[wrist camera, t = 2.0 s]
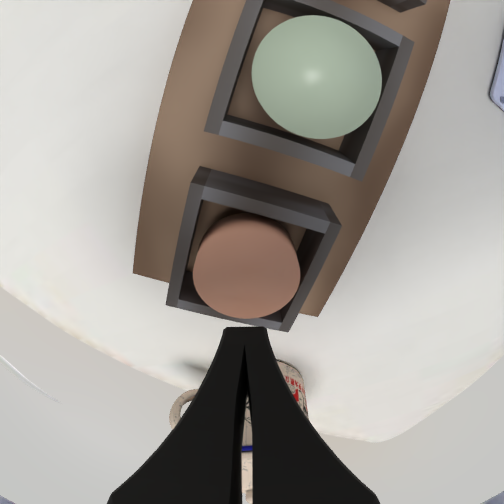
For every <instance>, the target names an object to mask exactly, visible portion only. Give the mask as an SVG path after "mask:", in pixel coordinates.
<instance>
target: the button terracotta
mask: <svg viewBox="0 0 504 504" xmlns="http://www.w3.org/2000/svg"><path fill="white" fill-rule="evenodd" d="M193 281H194V285H195V288H196V290H197V292H198V294H199V296H200V297H201V298H202V300H203V301H204V302H205V303H206V304H207V305H208V306H210V307H211V308H213V309H214V310H216V311H217V312H219V313H222V314H224V315H227V316H230V317H235V318H243V319H251V318H259V317H263V316H267V315H270V314H272V313H274V312H276V311H278V310H279V309H281V308H282V307H284V306H285V305H286V304H287V303H288V302H289V301H290V300H291V299H292V298H293V296H294V295H295V293H296V291H297V289H298V286H299V282H300V267H299V263H298V259H297V255H296V251H295V247H294V244H293V241H292V239H291V237H290V235H289V234H288V232H287V231H286V230H285V229H284V228H283V227H282V226H281V225H280V224H279V223H277V222H276V221H274V220H273V219H271V218H269V217H266V216H262V215H258V214H254V213H240V214H234V215H230V216H227V217H225V218H223V219H221V220H219V221H217V222H216V223H215V224H213V225H212V226H211V227H210V228H209V229H208V230H207V231H206V233H205V234H204V236H203V238H202V240H201V242H200V245H199V249H198V252H197V256H196V260H195V264H194V268H193Z"/></svg>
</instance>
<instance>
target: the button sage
mask: <svg viewBox="0 0 504 504" xmlns="http://www.w3.org/2000/svg"><path fill="white" fill-rule="evenodd" d="M251 74H252V85H253V89H254V92H255V95H256V97H257V99H258V101H259V102H260V104H261V106H262V107H263V109H264V110H265V111H266V113H267V114H268V115H269V116H270V117H271V118H272V119H273V120H274V121H275V122H276V123H277V124H279V125H280V126H282V127H283V128H285V129H286V130H288V131H290V132H292V133H295V134H297V135H300V136H303V137H307V138H314V139H329V138H335V137H340V136H342V135H345V134H348V133H350V132H352V131H354V130H355V129H357V128H358V127H359V126H361V125H362V124H363V123H364V122H365V121H366V120H367V119H368V118H369V117H370V115H371V114H372V113H373V111H374V109H375V108H376V105H377V103H378V101H379V97H380V94H381V88H382V75H381V69H380V65H379V62H378V59H377V56H376V54H375V52H374V51H373V49H372V47H371V46H370V44H369V43H368V42H367V40H366V39H365V38H364V37H363V36H362V35H361V34H360V33H359V32H357V31H356V30H355V29H353V28H352V27H350V26H349V25H347V24H345V23H343V22H341V21H339V20H336V19H333V18H330V17H325V16H317V15H308V16H300V17H296V18H292V19H289V20H287V21H285V22H283V23H281V24H279V25H278V26H276V27H275V28H273V29H272V30H271V31H270V32H269V33H268V34H267V35H266V36H265V37H264V39H263V40H262V41H261V43H260V45H259V46H258V48H257V51H256V53H255V56H254V60H253V64H252V72H251Z"/></svg>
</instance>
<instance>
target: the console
mask: <svg viewBox="0 0 504 504" xmlns="http://www.w3.org/2000/svg"><path fill="white" fill-rule="evenodd" d="M449 4H450V0H193V2H192V4H191V7H190V10H189V13H188V15H187V18H186V21H185V24H184V27H183V30H182V33H181V36H180V39H179V42H178V45H177V48H176V51H175V55H174V58H173V61H172V65H171V68H170V72H169V75H168V79H167V82H166V86H165V90H164V94H163V98H162V102H161V106H160V110H159V114H158V118H157V122H156V127H155V131H154V136H153V141H152V145H151V150H150V155H149V160H148V166H147V171H146V177H145V182H144V188H143V195H142V201H141V208H140V215H139V222H138V229H137V238H136V246H135V255H134V265H133V273H134V274H138V275H141V276H145V277H149V278H153V279H156V280H160V281H164V282H168V283H169V288H168V294H167V300H166V305H168V306H172V307H176V308H180V309H184V310H188V311H192V312H196V313H200V314H204V315H209V316H213V317H217V318H222V319H226V320H231V321H235V322H240V323H244V324H249V325H254V326H259V327H261V326H264V327H265V328H269V329H274V330H279V331H284V332H289V330H290V328H291V326H292V325H293V323H294V321H295V319H296V317H297V315H298V313H301V314H306V315H311V316H316V317H318V316H319V314H320V312H321V311H322V309H323V307H324V305H325V304H326V302H327V300H328V298H329V296H330V295H331V293H332V291H333V289H334V287H335V286H336V284H337V282H338V280H339V278H340V276H341V275H342V273H343V271H344V269H345V267H346V265H347V263H348V261H349V259H350V257H351V256H352V254H353V252H354V250H355V248H356V246H357V244H358V242H359V240H360V238H361V236H362V234H363V232H364V230H365V228H366V226H367V224H368V222H369V220H370V218H371V215H372V213H373V211H374V209H375V207H376V205H377V203H378V201H379V198H380V196H381V194H382V192H383V190H384V187H385V185H386V183H387V181H388V179H389V176H390V174H391V172H392V169H393V167H394V165H395V162H396V160H397V158H398V155H399V153H400V151H401V148H402V146H403V143H404V141H405V138H406V136H407V133H408V131H409V128H410V126H411V123H412V121H413V118H414V115H415V113H416V110H417V107H418V105H419V102H420V99H421V96H422V93H423V91H424V88H425V85H426V82H427V79H428V76H429V73H430V70H431V67H432V64H433V61H434V58H435V54H436V51H437V48H438V44H439V41H440V38H441V34H442V31H443V27H444V23H445V20H446V16H447V12H448V8H449ZM308 15H317V16H325V17H330V18H333V19H336V20H339V21H341V22H343V23H345V24H347V25H349V26H350V27H352V28H353V29H355V30H356V31H357V32H359V33H360V34H361V35H362V36H363V37H364V38H365V39H366V40H367V42H368V43H369V44H370V46H371V47H372V49H373V51H374V52H375V54H376V56H377V59H378V62H379V65H380V69H381V75H382V88H381V94H380V97H379V101H378V103H377V105H376V108H375V109H374V111H373V113H372V114H371V115H370V117H369V118H368V119H367V120H366V121H365V122H364V123H363V124H362V125H361V126H359V127H358V128H357V129H355V130H354V131H352V132H350V133H348V134H345V135H342V136H340V137H335V138H329V139H314V138H307V137H303V136H300V135H297V134H295V133H292V132H290V131H288V130H286V129H285V128H283V127H282V126H280V125H279V124H277V123H276V122H275V121H274V120H273V119H272V118H271V117H270V116H269V115H268V114H267V113H266V111H265V110H264V109H263V107H262V106H261V104H260V102H259V101H258V99H257V97H256V95H255V92H254V89H253V85H252V74H251V72H252V64H253V60H254V56H255V53H256V51H257V48H258V46H259V45H260V43H261V41H262V40H263V39H264V37H265V36H266V35H267V34H268V33H269V32H270V31H271V30H272V29H273V28H275V27H276V26H278V25H279V24H281V23H283V22H285V21H287V20H289V19H292V18H296V17H300V16H308ZM240 213H254V214H258V215H262V216H266V217H269V218H271V219H273V220H274V221H276V222H277V223H279V224H280V225H281V226H282V227H283V228H284V229H285V230H286V231H287V232H288V234H289V235H290V237H291V239H292V241H293V244H294V247H295V251H296V255H297V259H298V263H299V267H300V282H299V286H298V289H297V291H296V293H295V295H294V296H293V298H292V299H291V300H290V301H289V302H288V303H287V304H286V305H285V306H284V307H282V308H281V309H279V310H278V311H276V312H274V313H272V314H270V315H267V316H263V317H259V318H251V319H243V318H235V317H230V316H227V315H224V314H222V313H219V312H217V311H216V310H214V309H213V308H211V307H210V306H208V305H207V304H206V303H205V302H204V301H203V300H202V298H201V297H200V296H199V294H198V292H197V290H196V288H195V285H194V281H193V268H194V264H195V260H196V256H197V252H198V249H199V245H200V242H201V240H202V238H203V236H204V234H205V233H206V231H207V230H208V229H209V228H210V227H211V226H212V225H213V224H215V223H216V222H217V221H219V220H221V219H223V218H225V217H227V216H230V215H234V214H240Z"/></svg>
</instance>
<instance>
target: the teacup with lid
mask: <svg viewBox="0 0 504 504" xmlns="http://www.w3.org/2000/svg"><path fill="white" fill-rule="evenodd" d="M277 363H278V366H279V368H280V370H281V372H282V374H283V376H284V378H285V381H286V383H287V384H288V386H289V388H290V390H291V392H292V394H293V396H294V397H295V399H296V401H297V403H298V404H299V406H300V408H301V409H302V411H303V412H304V414H305V415H306V417H307V418H308V411H307V404H306V397H305V390H304V383H303V379H302V377H301V375H300V374H299V373H298V372H297V371H296V370H295V369H294V368H292V367H291V366H289V365H287V364H285V363H282V362H278V361H277ZM197 391H198V389H194V390H189V391H187V392H185V393H183V394H182V395H181V396H180V397H178V398H177V400H176V401H175V402H174V404H173V406H172V408H171V411H170V416H169V419H170V425H171V427H172V429H174V427H175V426H176V425H177V423H178V422H179V420H180V419H181V417H180V412H181V408H182V406H183V405H184V404H185V403H186V402H189V401H192V400H193V398H194V397H195V395H196V393H197ZM308 420H309V418H308ZM242 493H246V501H247V502H248V503H250V504H252V427H251V418H250V409H249V400H248V391H247V401H246V411H245V422H244V432H243V442H242Z"/></svg>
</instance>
